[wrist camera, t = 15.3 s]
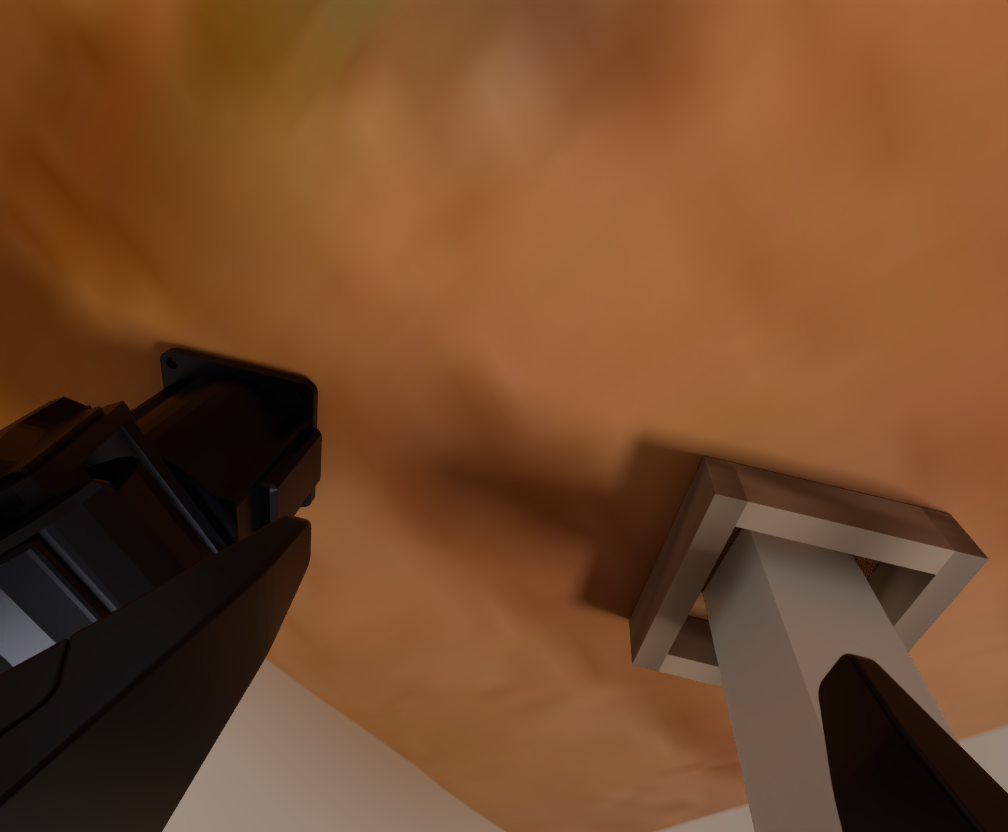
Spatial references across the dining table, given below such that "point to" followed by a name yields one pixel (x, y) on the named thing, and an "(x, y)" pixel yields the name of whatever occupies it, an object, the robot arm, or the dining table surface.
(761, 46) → the dining table surface
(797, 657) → the clay block
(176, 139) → the dining table surface
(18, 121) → the dining table surface
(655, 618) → the rectangular frame
